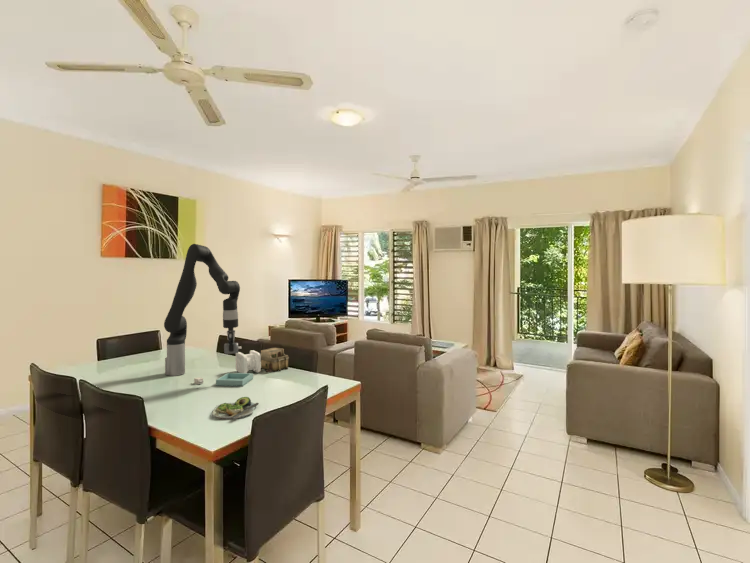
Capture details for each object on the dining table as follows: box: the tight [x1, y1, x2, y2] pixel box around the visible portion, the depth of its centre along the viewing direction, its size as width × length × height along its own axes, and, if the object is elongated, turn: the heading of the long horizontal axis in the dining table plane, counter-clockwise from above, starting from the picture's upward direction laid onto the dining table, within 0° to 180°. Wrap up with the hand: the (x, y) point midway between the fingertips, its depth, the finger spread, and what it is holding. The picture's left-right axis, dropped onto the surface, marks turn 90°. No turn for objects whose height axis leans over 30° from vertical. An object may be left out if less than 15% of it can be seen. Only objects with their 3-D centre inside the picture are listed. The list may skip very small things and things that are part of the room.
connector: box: [223, 342, 242, 355], centre depth 207 cm, size 9×3×5 cm, turn 107°
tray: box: [215, 372, 254, 387], centre depth 205 cm, size 14×14×3 cm
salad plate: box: [211, 396, 259, 420], centre depth 161 cm, size 19×18×5 cm
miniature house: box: [260, 347, 290, 373], centre depth 234 cm, size 15×14×11 cm
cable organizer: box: [235, 349, 261, 374], centre depth 225 cm, size 15×11×12 cm
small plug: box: [193, 377, 204, 385], centre depth 203 cm, size 5×3×3 cm, turn 52°
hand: (231, 350), depth 207 cm, fingers closed on connector, 3 cm apart
